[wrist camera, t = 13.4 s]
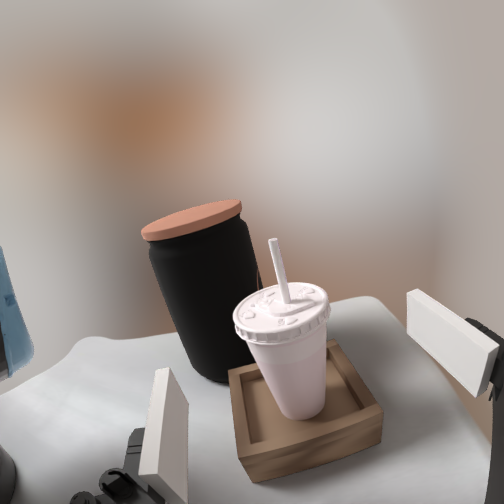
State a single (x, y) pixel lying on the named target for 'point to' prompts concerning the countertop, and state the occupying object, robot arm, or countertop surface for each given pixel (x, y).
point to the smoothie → (288, 340)
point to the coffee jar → (206, 281)
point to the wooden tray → (302, 421)
